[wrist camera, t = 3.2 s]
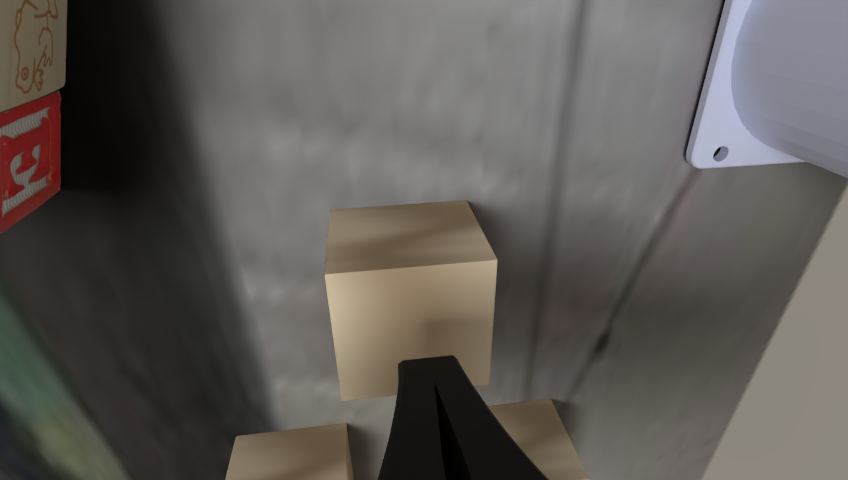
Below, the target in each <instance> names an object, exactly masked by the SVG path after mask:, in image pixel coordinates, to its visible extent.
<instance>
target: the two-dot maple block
mask: <svg viewBox="0 0 848 480" xmlns="http://www.w3.org/2000/svg"><path fill="white" fill-rule="evenodd" d="M225 480H354V477H353V470H352V462H351V455H350V448H349V440H348V433H347V426H346V423H342V424H334V425H326V426H317V427H309V428H301V429H292V430H284V431H276V432H268V433H259V434H251V435H243V436H236V439H235V443H234V447H233V451H232V455H231V459H230V463H229V467H228V471H227V475H226V479H225Z"/></svg>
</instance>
